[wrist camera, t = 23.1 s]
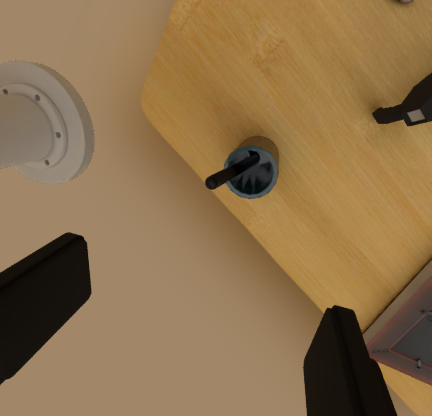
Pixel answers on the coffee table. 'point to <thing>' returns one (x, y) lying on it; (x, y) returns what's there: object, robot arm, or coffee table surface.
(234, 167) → the stylus
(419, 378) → the picture frame
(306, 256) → the coffee table surface
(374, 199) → the coffee table surface
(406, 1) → the smartphone
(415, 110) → the gun
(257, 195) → the pen cup
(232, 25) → the coffee table surface
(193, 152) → the coffee table surface
